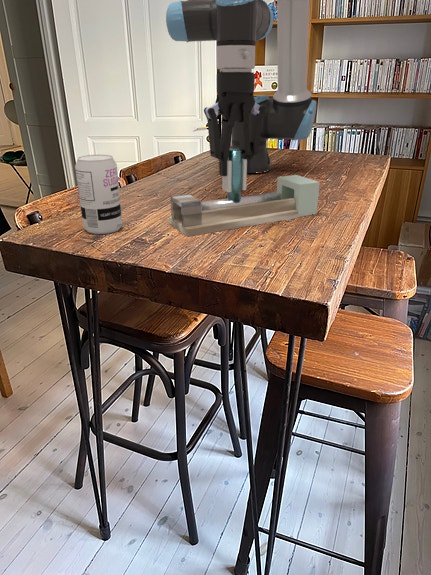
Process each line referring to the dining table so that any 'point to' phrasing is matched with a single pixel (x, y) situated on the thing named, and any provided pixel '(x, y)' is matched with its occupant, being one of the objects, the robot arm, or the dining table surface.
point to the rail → (226, 215)
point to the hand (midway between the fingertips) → (234, 189)
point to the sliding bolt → (238, 188)
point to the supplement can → (99, 193)
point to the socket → (300, 193)
